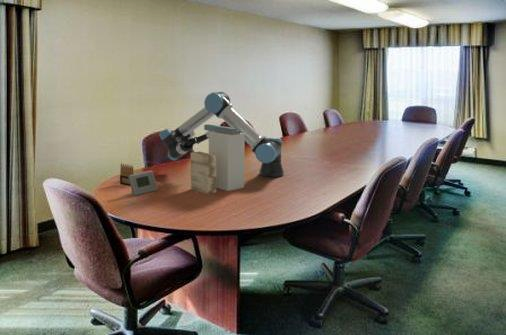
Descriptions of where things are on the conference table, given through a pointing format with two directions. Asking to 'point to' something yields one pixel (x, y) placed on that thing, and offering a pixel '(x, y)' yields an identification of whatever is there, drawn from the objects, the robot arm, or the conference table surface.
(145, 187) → the digital clock
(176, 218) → the conference table surface
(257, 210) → the conference table surface
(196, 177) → the beige stone block
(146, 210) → the conference table surface
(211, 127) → the rail
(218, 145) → the grey stand
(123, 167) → the ammunition clip
